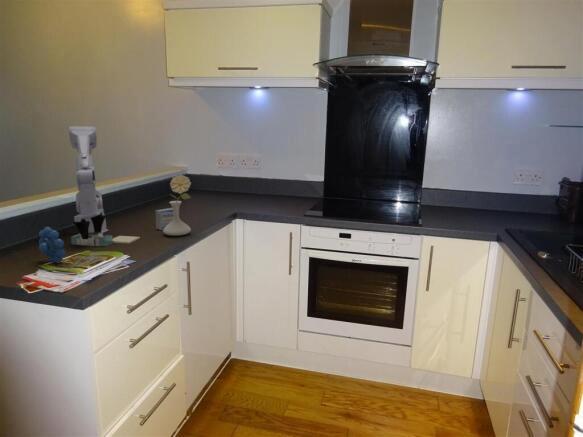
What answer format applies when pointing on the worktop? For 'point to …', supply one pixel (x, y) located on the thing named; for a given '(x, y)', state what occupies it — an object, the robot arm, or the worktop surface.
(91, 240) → the grey hollow block
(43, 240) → the grapes
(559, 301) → the worktop surface
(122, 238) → the mat
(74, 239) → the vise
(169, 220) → the medicine box
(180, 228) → the flower in vase
